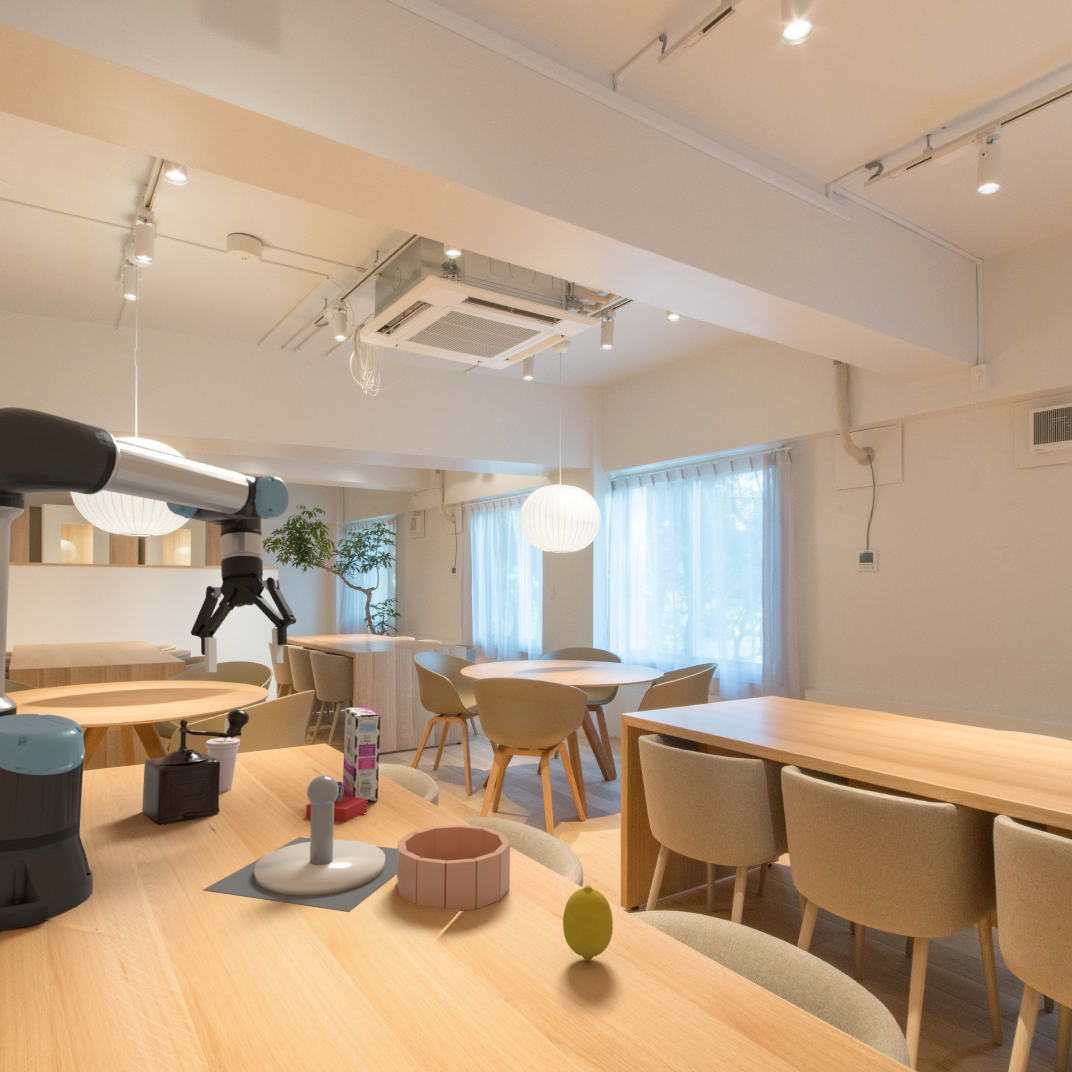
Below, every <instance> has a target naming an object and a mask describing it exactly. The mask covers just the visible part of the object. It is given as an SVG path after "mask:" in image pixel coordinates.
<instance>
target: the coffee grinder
mask: <svg viewBox="0 0 1072 1072" xmlns="http://www.w3.org/2000/svg"><path fill="white" fill-rule="evenodd" d="M226 719H228V729H227V731H226V733H224V732H220V731H219V732H218V731H213V730H211V731H210V730H194V729H188V727H187V725H188V721H187V719H181V720H180V721H179V724H180V727H179V728H178V731H179V732H180V745H179V747H178V749H176V750H173V751H171V752H169V753H167V754H166V755H164V756H163V757H156V758H155V757H154V758H149V759H145V760H144V769H143V770H144V771H143V788H142V789H143V790H142V792H143V793H142V808H141V810H142V813H143V815H144V816H146V817H147V818H148V819H149V820H150V821H152V822H153V823H154V824H155V823H156V824H155V825H157V826H163V825H162V824H164V825H168V823H169V824H173V823H180V822H185V821H190V820H194V819H197V818H201V817H207V816H211V815H214V814H215V815H216V814H218V813H220V799H219V798H220V797H219V796H220V792H219V776H220V761H218V760H217V759H215V758H213V757H211V756H208V754H205V753H203V752H200V751H197V750H196V749H193V748H188V747H187V743H186V741H187V734H190V735H192V736H203V737H206V736H207V737H215V738H228V737H230V738H237V737H241V736H242V735H243V734H242V728H243V727H245V726H246V725H247V724H248V722H249V719H250V717H249V714H248V712H246V711H245V710H241V709H233V710H231V711H229V712H228V714H227V716H226Z"/></svg>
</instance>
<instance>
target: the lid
mask: <svg viewBox="0 0 1072 1072" xmlns="http://www.w3.org/2000/svg"><path fill="white" fill-rule="evenodd" d="M337 782H338V781H337V780H335V778H333V777H332V776H329V775H324V774H322V775H319V776H316V777H315V778H313V779H312V780H311V782H310V783H309V785H308V787H307V789H306V796H307V800H308V801H309V803H311V817H310V831H309V832H310V835H309V836H310V837H309V838H310V842H305V843H299V844H295V845H291V846H287V847H284V848H281V849H278V848H277V849H278V850H276V849H275V850H273V851H271V852H269V853H267V854H265V855H264V856H262V857H260V858H261V859H260V858H259V859H260V860H259V861H258V862H257V863H256V865H255V868H254V880H255V882H256V883H257V884H258V885H259V886H260V887H262V888H263V889H266V890H268V891H271V892H275V893H280V894H287V895H321V894H329V893H335V892H340V891H345V890H349V889H352V888H355V887H358V886H361V885H364V884H366V883H368V882H370V881H372V880H374V879H375V878H377V877H378V876H379V875H380V874H381V873H382V872H383V871H384V868H385V854H384V852H383V851H382V850H381V849H380V848H378V847H376V846H377V845H373V844H370V843H368V842H364V841H359V840H350V839H334V831H335V830H334V829H335V824H334V823H335V820H334V801H335V800H336V799H337V796H338V793H339V787H338V784H337Z"/></svg>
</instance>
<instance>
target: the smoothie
mask: <svg viewBox="0 0 1072 1072" xmlns="http://www.w3.org/2000/svg"><path fill="white" fill-rule="evenodd" d="M228 728H229V722H228V719H227V718H225V719H224V731H223V733H226V731H227V730H228ZM240 741H241V739H240V738H237V737H233V738H231V737H228V738H223V737H215V738H212V739H208V740H206V742H205V748H206V749H207V755H208V756H211V757H213V758H215V759H217V760H218V761H220V776H219V793H224V792H228V791H231V790H232V788H233V782H234V776H235V775H234V774H235V768H236V762H237V755H238V751H239V746H240V745H241V742H240Z"/></svg>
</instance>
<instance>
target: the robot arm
mask: <svg viewBox="0 0 1072 1072" xmlns="http://www.w3.org/2000/svg"><path fill="white" fill-rule="evenodd" d="M102 491H107V492H110V493H111V492H112V493H118V494H121V495H127V496H133V497H136V498H142V499H143V498H144V499H148V500H154V501H159V502H165V503H166V507H167V508H168V510H169V511H170V512H171V513H172V514H175V515H177V516H180V517H184V519H192V520H197V521H201V522H203V523H204V522H205V523H209V524H213V525H217V526H220V557H221V558H222V561H220V565H221V566H220V569H221V571H220V572H221V574H220V575H221V579H222V583H221V584H222V585H221V586H211V585H208V586H207V587H206V590H205V599H204V601H203V603H202V604H201V608H200V610H199V612H198V614H197V616H196V619H195V621H194V624H193V626H192V628H191V631H190V634H191V636H195V637H198V638H200V647H201V648H200V649H201V650H200V651H201V655H202V656H204V672H205V673H217V672H218V665H217V664H218V663H217V662H218V661H217V660H218V659H217V657H218V655H217V653H218V652H217V638H216V637H214V635H215V634H216V632H217V630H219V628H220V626H222V624H223V622H224V620H225V619H226V618H227V616H228V615H229V614H230V612H231V611H233V610H234V609H235V607H237V608H241V607H244V606H254V605H256V607H257V608H259V610H260V611H262V613H263V614H264V615H265V617H267V618H268V619H269V620H270V621H271V623H272V624H273V625H274V627H272V628H271V639H272V641H271V643H272V644H271V646H272V648H271V649H272V664H274V665H275V664H276V665H281V664H284V661H285V660H284V646H287V643H288V633H287V631H288V630H287V629H288V627H290V626H291V625H294V624H296V623H297V618H296V617H295V615H294V613H293V611H292V610H291V608H290V606H289V604H288V602H287V600H286V598H285V597H284V594H283V593H282V591H281V588H280V587H281V586H280V582H279V579H277V578H273V577H270V576H269V577H267V579H264V580H263V576H264V575H263V574H264V573H263V571H264V569H263V568H264V567H263V564H264V563H263V559H262V558H261V557H262V556H263V539H262V520H267V519H273V518H278V517H280V516H282V515H283V514H285V512H286V511H287V509H288V507H289V503H290V502H289V500H290V491H289V488H288V486H287V484H286V483H285V481H284V480H283V479H282V478H280V477H278V476H275V475H260V476H257V475H255V476H254V475H251V474H247V473H243V472H238V471H234V470H232V469H231V470H230V469H227V468H223V467H220V466H216V465H213V464H212V465H211V464H210V463H209V464H208V463H204V462H200V461H198V460H193V459H189V458H186V457H183V456H179V455H176V454H175V455H174V454H171V453H167V452H164V451H159V450H156V449H152V448H148V447H145V446H140V445H137V444H133V443H129V442H126V441H123V440H119V439H115V437H114V436H113V434H112V433H111V432H110V431H108V430H107V429H104V428H102V427H97V426H94V425H91V424H87V423H83V422H80V421H76V420H72V419H70V418H67V417H66V418H65V417H63V416H59V415H56V414H51V413H47V412H44V411H41V410H35V409H29V408H24V407H14V406H13V407H11V406H9V407H0V931H5V930H9V929H11V930H12V929H18V928H22V927H28V926H32V925H36V924H41V923H43V922H47V921H48V919H49V918H52V917H56V916H60V915H61V914H64V913H66V912H68V911H70V910H72V909H75V908H77V907H78V906H80V905H81V904H83V903H85V902H86V901H87V900H88V899H89V898H90V897H91V896H92V894H93V886H94V885H93V881H94V877H93V872H92V869H91V868H90V867H89V861H88V859H87V855H86V851H85V849H84V844H83V842H82V840H81V835H80V834H81V831H80V830H81V828H80V827H81V811H82V810H81V809H82V795H83V793H82V792H83V780H84V779H83V778H84V777H83V774H84V762H85V761H84V759H85V755H86V749H85V744H84V743H85V741H84V731H83V728H82V726H81V725H80V724H79V723H78V722H77V721H75V720H73V719H71V718H68V717H64V716H61V715H55V714H38V713H21V714H20V713H19V714H17V712H18V711H17V707H18V704H17V702H16V701H15V700H13V699H12V698H11V697H9V695H7V693H5V685H6V684H5V682H6V660H7V659H6V657H7V655H6V654H7V630H8V629H7V628H8V605H9V603H8V601H9V579H10V578H9V575H10V553H11V552H10V550H11V547H10V546H11V526H12V523H13V521H14V520H16V519H17V518H18V517H21V515H22V514H24V512H25V502H26V500H25V499H26V494H32V493H33V494H34V493H52V492H70V493H78V494H82V495H89V496H90V495H95V494H98V493H100V492H102ZM264 589H265V590H267V591H268V593H269V594H270V597H271V598H272V600H273V603H274V604H275V606H276V608H277V610H278V611H279V613H280V614H279V613H278V612H277V611H276V610H275V609H274V608H273V607H272V605H270V603H269V602H268V601H267V600H266V598H265V597H264V596H263V595H262V593H263V591H264ZM221 595H222V596H223V597H222V599H221V600H220V602H219V603H218V601H219V598H221ZM217 604H218V607H217ZM216 607H217V608H216ZM215 608H216V610H215Z"/></svg>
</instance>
